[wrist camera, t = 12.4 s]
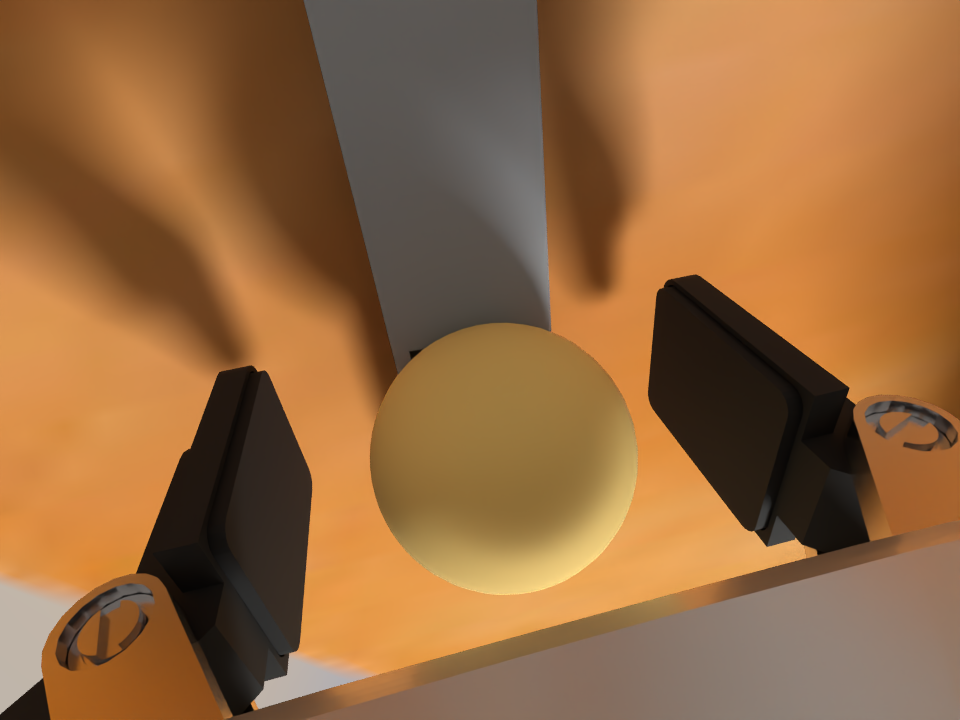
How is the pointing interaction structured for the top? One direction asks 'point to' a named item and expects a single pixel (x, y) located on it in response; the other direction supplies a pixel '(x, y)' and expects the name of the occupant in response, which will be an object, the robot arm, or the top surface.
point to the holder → (442, 158)
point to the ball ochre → (503, 458)
